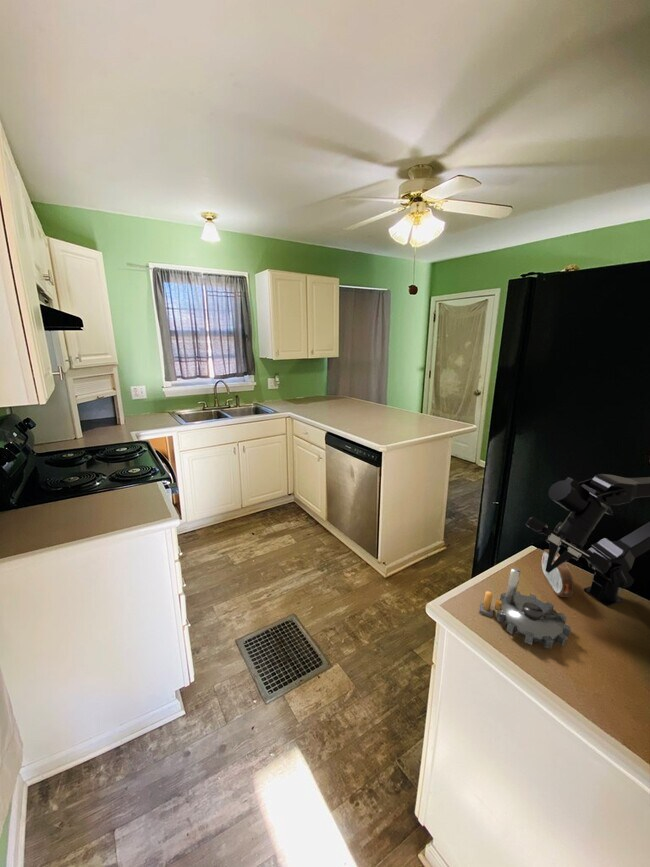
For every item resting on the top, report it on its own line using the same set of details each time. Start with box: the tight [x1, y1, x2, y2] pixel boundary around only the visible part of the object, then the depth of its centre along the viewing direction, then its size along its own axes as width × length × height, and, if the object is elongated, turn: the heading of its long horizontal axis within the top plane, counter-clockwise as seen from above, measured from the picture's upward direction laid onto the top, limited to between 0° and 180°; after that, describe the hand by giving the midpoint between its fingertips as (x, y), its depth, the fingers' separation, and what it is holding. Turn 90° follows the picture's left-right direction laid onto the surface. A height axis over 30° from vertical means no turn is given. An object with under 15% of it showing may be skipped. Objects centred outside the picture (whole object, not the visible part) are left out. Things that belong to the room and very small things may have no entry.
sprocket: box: [494, 567, 572, 649], centre depth 83 cm, size 15×15×11 cm
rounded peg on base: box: [478, 590, 494, 618], centre depth 88 cm, size 3×3×5 cm
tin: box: [540, 548, 575, 598], centre depth 99 cm, size 15×3×8 cm, turn 168°
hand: (547, 571), depth 89 cm, fingers closed
